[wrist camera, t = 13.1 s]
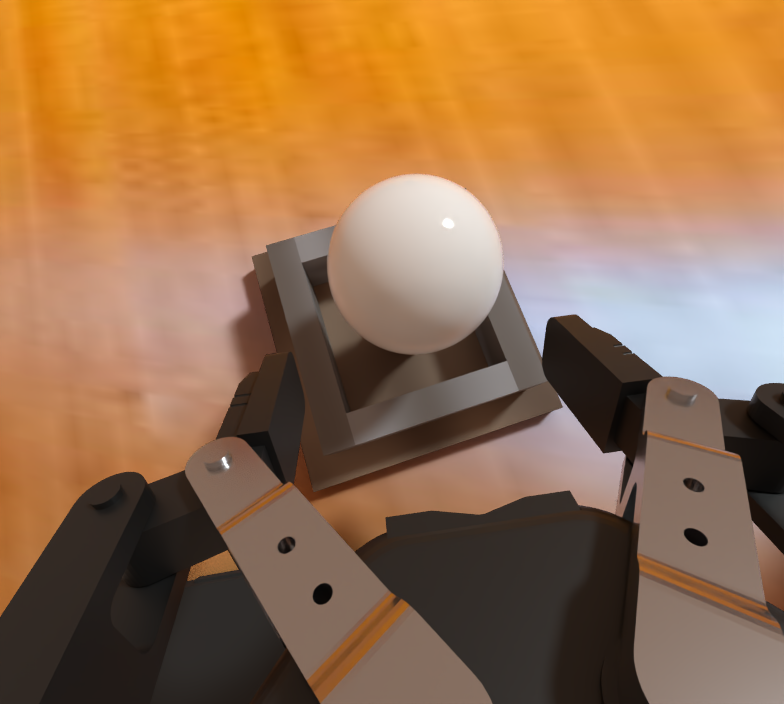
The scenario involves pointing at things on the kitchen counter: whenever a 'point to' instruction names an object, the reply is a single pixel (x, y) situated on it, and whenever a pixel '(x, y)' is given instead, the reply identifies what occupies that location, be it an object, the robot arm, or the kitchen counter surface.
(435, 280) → the lightbulb
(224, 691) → the smart home device
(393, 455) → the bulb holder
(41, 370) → the kitchen counter surface
